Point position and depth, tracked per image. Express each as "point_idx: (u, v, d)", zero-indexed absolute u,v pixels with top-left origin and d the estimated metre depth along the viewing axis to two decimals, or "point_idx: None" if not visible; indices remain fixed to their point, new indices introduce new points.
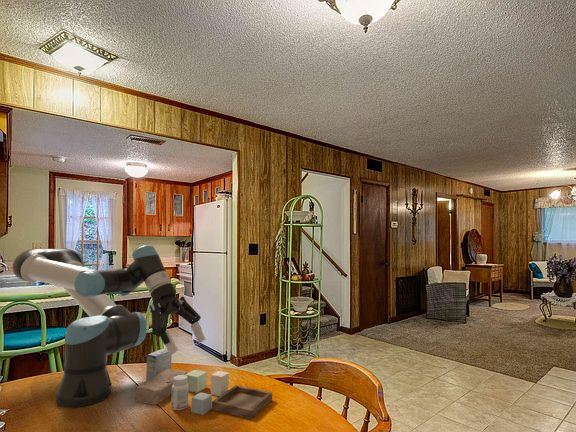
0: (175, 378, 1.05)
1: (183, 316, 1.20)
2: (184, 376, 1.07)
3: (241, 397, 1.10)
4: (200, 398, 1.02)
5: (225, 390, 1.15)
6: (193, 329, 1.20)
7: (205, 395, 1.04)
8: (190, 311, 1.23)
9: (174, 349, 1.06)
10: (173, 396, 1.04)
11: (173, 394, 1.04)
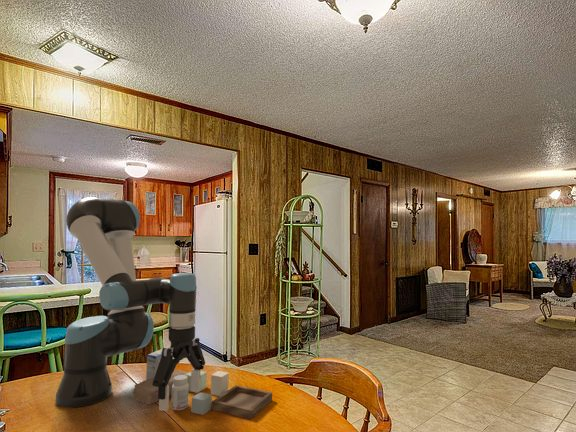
0: (175, 378, 1.05)
1: (189, 359, 1.10)
2: (184, 376, 1.07)
3: (241, 397, 1.10)
4: (200, 398, 1.02)
5: (225, 390, 1.15)
6: (192, 375, 1.12)
7: (205, 395, 1.04)
8: (198, 355, 1.13)
9: (165, 408, 0.98)
10: (173, 396, 1.04)
11: (173, 394, 1.04)
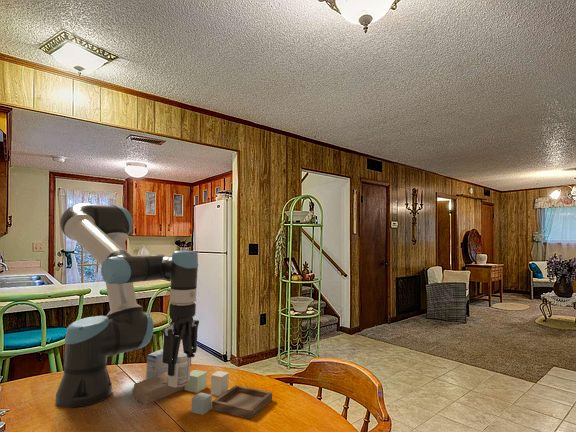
0: None
1: (184, 341, 1.09)
2: (184, 354, 1.07)
3: (241, 397, 1.10)
4: (200, 398, 1.02)
5: (225, 390, 1.15)
6: None
7: (205, 395, 1.04)
8: (193, 339, 1.11)
9: (174, 384, 1.03)
10: None
11: None
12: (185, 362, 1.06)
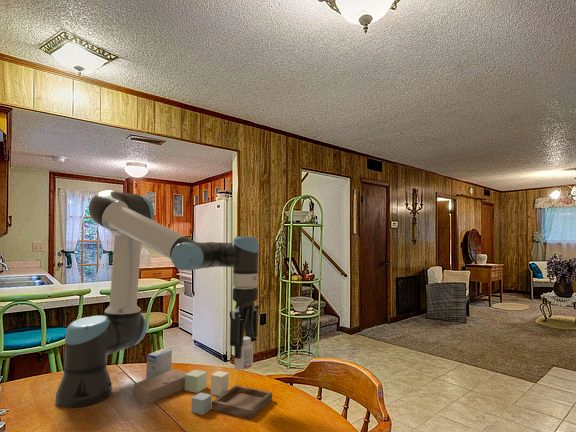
0: None
1: (246, 326, 1.11)
2: (247, 337, 1.09)
3: (241, 397, 1.10)
4: (200, 398, 1.02)
5: (225, 390, 1.15)
6: None
7: (205, 395, 1.04)
8: (254, 324, 1.13)
9: (241, 367, 1.05)
10: None
11: None
12: (250, 345, 1.08)
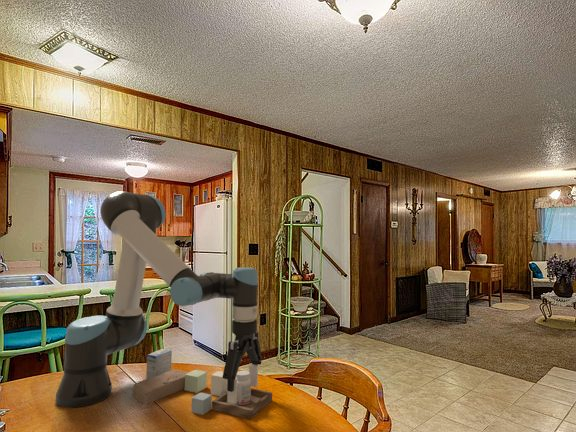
0: (238, 373, 1.07)
1: (249, 353, 1.12)
2: (246, 372, 1.09)
3: None
4: (200, 398, 1.02)
5: (225, 390, 1.15)
6: (250, 370, 1.13)
7: (205, 395, 1.04)
8: (256, 350, 1.14)
9: (234, 400, 1.01)
10: (237, 391, 1.06)
11: (238, 389, 1.06)
12: (249, 380, 1.07)
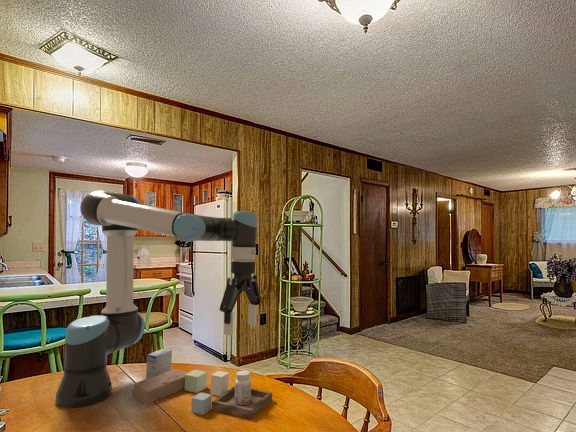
0: (238, 373, 1.07)
1: (248, 294, 1.17)
2: (246, 372, 1.09)
3: None
4: (200, 398, 1.02)
5: (225, 390, 1.15)
6: (249, 309, 1.18)
7: (205, 395, 1.04)
8: (255, 291, 1.19)
9: (230, 332, 1.05)
10: (237, 391, 1.06)
11: (238, 389, 1.06)
12: (249, 380, 1.07)
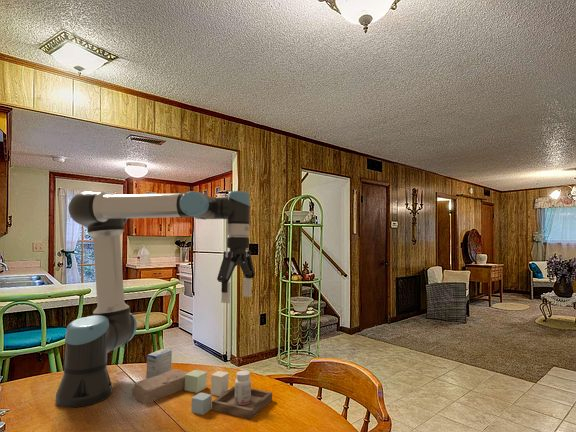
0: (238, 373, 1.07)
1: (242, 268, 1.27)
2: (246, 372, 1.09)
3: None
4: (200, 398, 1.02)
5: (225, 390, 1.15)
6: (244, 282, 1.28)
7: (205, 395, 1.04)
8: (249, 266, 1.29)
9: (227, 300, 1.15)
10: (237, 391, 1.06)
11: (238, 389, 1.06)
12: (249, 380, 1.07)
